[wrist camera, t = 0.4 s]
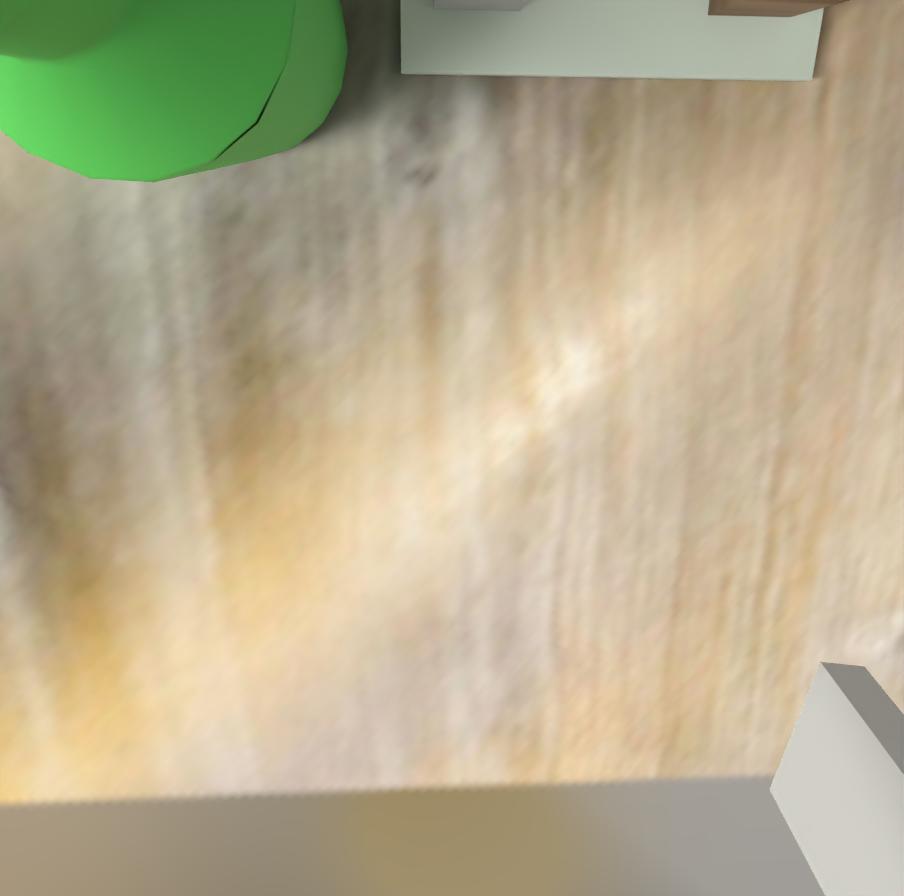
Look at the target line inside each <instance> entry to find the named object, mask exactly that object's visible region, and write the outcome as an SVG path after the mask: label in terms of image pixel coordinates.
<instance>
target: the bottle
mask: <svg viewBox="0 0 904 896" xmlns="http://www.w3.org/2000/svg"><path fill="white" fill-rule="evenodd" d="M347 55H348V43H347V37H346V30H345V23H344V16H343V10H342V6H341V4H340V2H339V0H0V130H1V131H3V132H4V133H5V134H6V135H7V136H9V137H10V138H11V139H12V140H13V141H15V142H16V143H17V144H18V145H19V146H21V147H22V148H23V149H24V150H25V151H27V152H28V153H31V154H33V155H36V156H38V157H40V158H43V159H45V160H48V161H50V162H52V163H55V164H57V165H59V166H62V167H64V168H67V169H69V170H71V171H74V172H76V173H79V174H81V175H83V176H86V177H88V178H94V179H111V180H128V181H144V182H156V181H161V180H165V179H170V178H175V177H179V176H184V175H189V174H193V173H198V172H203V171H207V170H212V169H216V168H221V167H225V166H230V165H234V164H238V163H242V162H247V161H251V160H255V159H259V158H263V157H266V156H269V155H272V154H275V153H278V152H281V151H284V150H287V149H290V148H293V147H295V146H297V145H298V144H299V143H300V142H301V141H303V140H304V139H305V138H306V137H307V136H309V135H310V134H311V133H312V132H313V131H315V130H316V129H317V128H318V127H319V126H321V125H322V124H323V122H324V121H325V119H326V117H327V115H328V113H329V112H330V110H331V108H332V106H333V104H334V103H335V101H336V99H337V97H338V95H339V94H340V92H341V90H342V84H343V79H344V73H345V67H346V61H347Z"/></svg>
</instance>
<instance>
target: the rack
mask: <svg viewBox="0 0 904 896" xmlns="http://www.w3.org/2000/svg"><path fill="white" fill-rule="evenodd" d="M708 8H709V0H401V74H423V75H475V76H528V77H580V78H632V79H684V80H736V81H788V82H803V81H812V76H813V70H814V64H815V59H816V53H817V47H818V41H819V35H820V29H821V23H822V17H823V11H824V8H821V9H817V10H814V11H810V12H807V13H804V14H800V15H797V16H793V17H760V16H716V15H708Z"/></svg>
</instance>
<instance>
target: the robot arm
mask: <svg viewBox="0 0 904 896" xmlns="http://www.w3.org/2000/svg"><path fill="white" fill-rule="evenodd" d="M770 791H771V793H772V795H773V797H774V799H775V801H776V803H777V804H778V806H779V808H780V810H781V812H782V814H783V816H784V818H785V819H786V822H787V823H788V825H789V827H790V829H791V831H792V833H793V835H794V837H795V839H796V841H797V843H798V845H799V846H800V848H801V850H802V852H803V854H804V856H805V858H806V860H807V862H808V864H809V865H810V867H811V869H812V871H813V873H814V875H815V877H816V879H817V881H818V882H819V885H820V887H821V889H822V890H823V892H824V894H825V896H904V715H903V713H902V712H901V711H900V710H899V709H898V707H897V706H896V705H895V704H894V702H893V701H892V700H891V699H890V697H889V696H888V695H887V694H886V693H885V691H884V690H883V689H882V688H881V686H880V685H879V684H878V683H877V681H876V680H875V679H874V678H873V677H872V675H871V674H870V673H869V672H868V670H867V669H866V668H865V667H863V666H854V665H844V664H835V663H825V662H820V664H819V667H818V669H817V672H816V674H815V677H814V679H813V682H812V684H811V687H810V689H809V692H808V694H807V697H806V699H805V702H804V705H803V707H802V710H801V712H800V715H799V717H798V720H797V722H796V725H795V727H794V730H793V732H792V735H791V737H790V740H789V742H788V745H787V747H786V750H785V752H784V755H783V757H782V760H781V762H780V765H779V767H778V770H777V772H776V775H775V777H774V780H773V782H772V785H771V788H770Z"/></svg>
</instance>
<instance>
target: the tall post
mask: <svg viewBox="0 0 904 896" xmlns="http://www.w3.org/2000/svg"><path fill="white" fill-rule="evenodd" d="M845 1H849V0H709V8H708V15H716V16H760V17H793V16H797V15H800V14H804V13H807V12H810V11H814V10H817V9H821V8H824V7H828V6H831V5H835V4H838V3H842V2H845Z"/></svg>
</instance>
